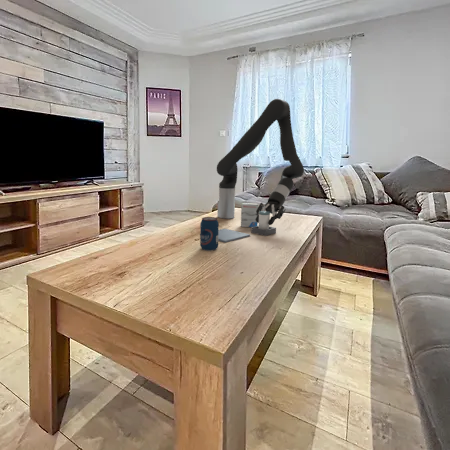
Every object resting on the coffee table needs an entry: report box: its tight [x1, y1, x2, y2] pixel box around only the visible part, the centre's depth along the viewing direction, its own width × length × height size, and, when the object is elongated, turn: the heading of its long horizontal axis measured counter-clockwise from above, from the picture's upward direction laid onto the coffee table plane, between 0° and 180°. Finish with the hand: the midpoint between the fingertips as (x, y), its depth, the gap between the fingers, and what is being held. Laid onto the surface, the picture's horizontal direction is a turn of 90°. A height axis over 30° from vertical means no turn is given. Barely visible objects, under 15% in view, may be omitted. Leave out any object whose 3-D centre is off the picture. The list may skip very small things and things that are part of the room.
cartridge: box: [258, 210, 271, 230], centre depth 147 cm, size 5×5×10 cm
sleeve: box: [251, 225, 277, 237], centre depth 148 cm, size 8×8×2 cm
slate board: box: [218, 228, 251, 243], centre depth 141 cm, size 16×16×1 cm
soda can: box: [199, 216, 220, 252], centre depth 120 cm, size 7×7×12 cm
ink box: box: [240, 202, 259, 228], centre depth 161 cm, size 8×5×12 cm, turn 84°
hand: (263, 222), depth 147 cm, fingers open, 7 cm apart
